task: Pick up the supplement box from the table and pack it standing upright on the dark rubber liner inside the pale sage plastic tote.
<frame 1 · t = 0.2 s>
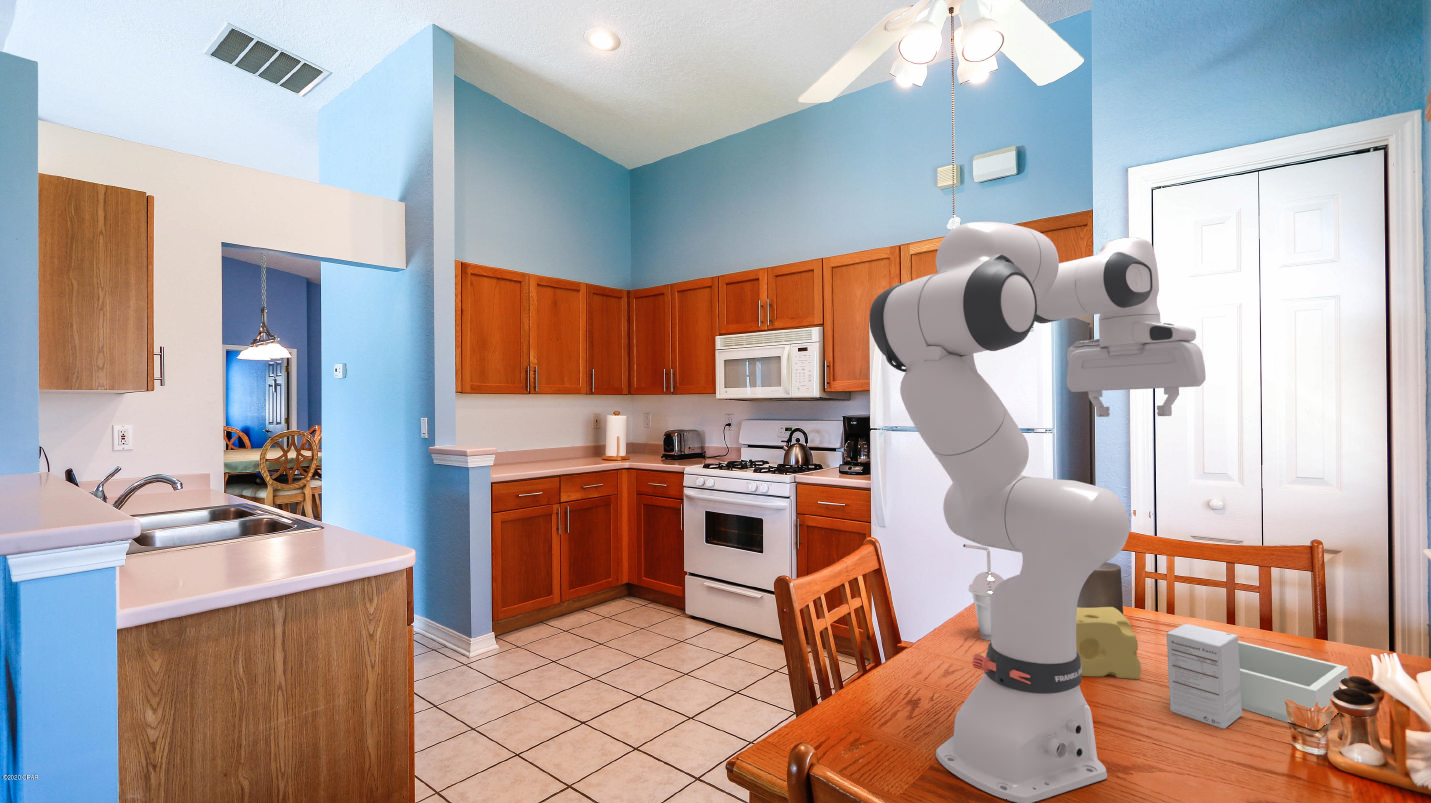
hand: (1132, 416, 107), 47 cm above the table, tool pointing down, fingers open, 8 cm apart
tote: (1272, 699, 103), on the table
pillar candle: (1097, 627, 139), on the table
supplement box: (1205, 714, 99), on the table
cup with straw: (990, 637, 135), on the table
cheese: (1097, 668, 118), on the table
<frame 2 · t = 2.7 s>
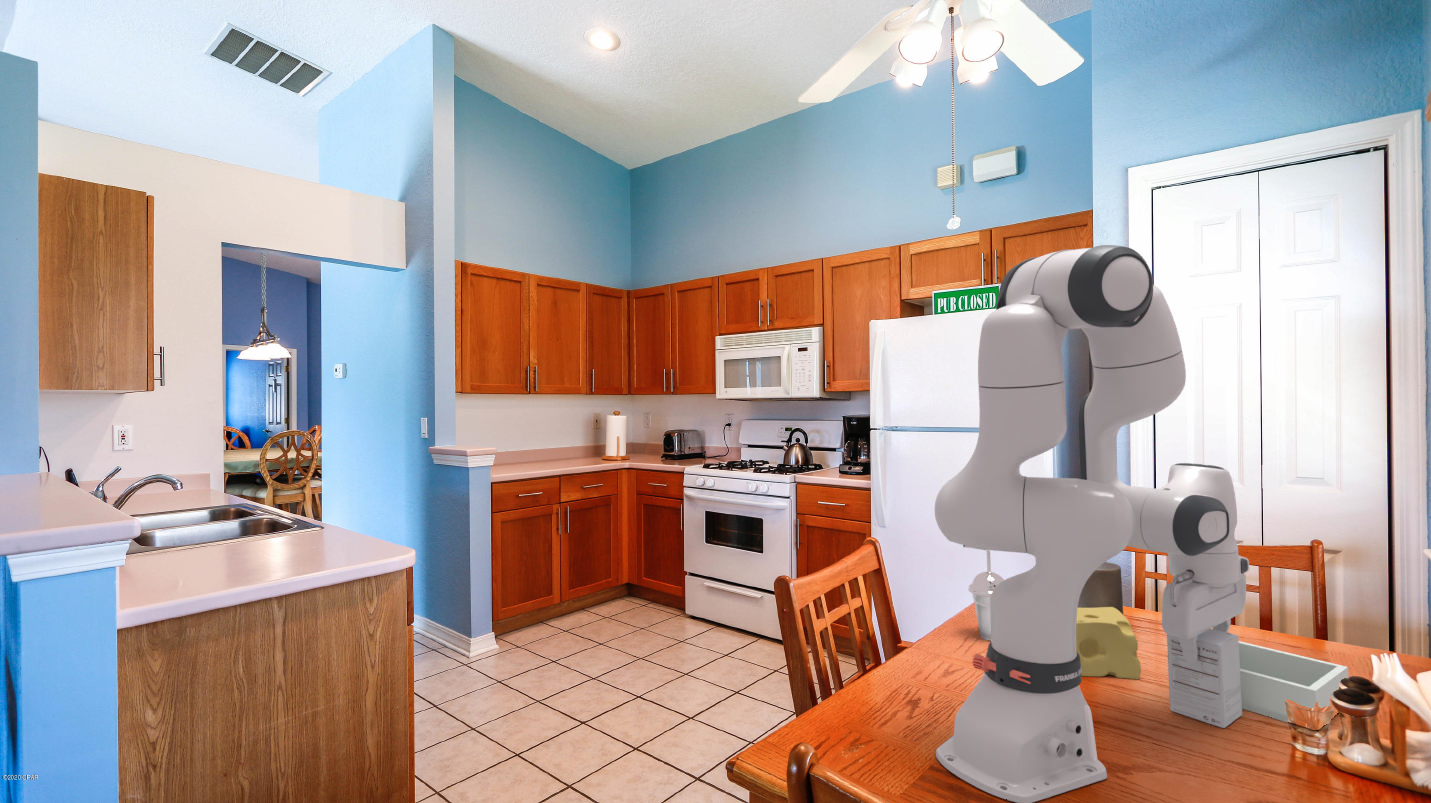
hand: (1205, 652, 99), 10 cm above the table, tool pointing down, fingers open, 8 cm apart
supplement box: (1205, 714, 99), on the table, touching gripper
everything else where it was.
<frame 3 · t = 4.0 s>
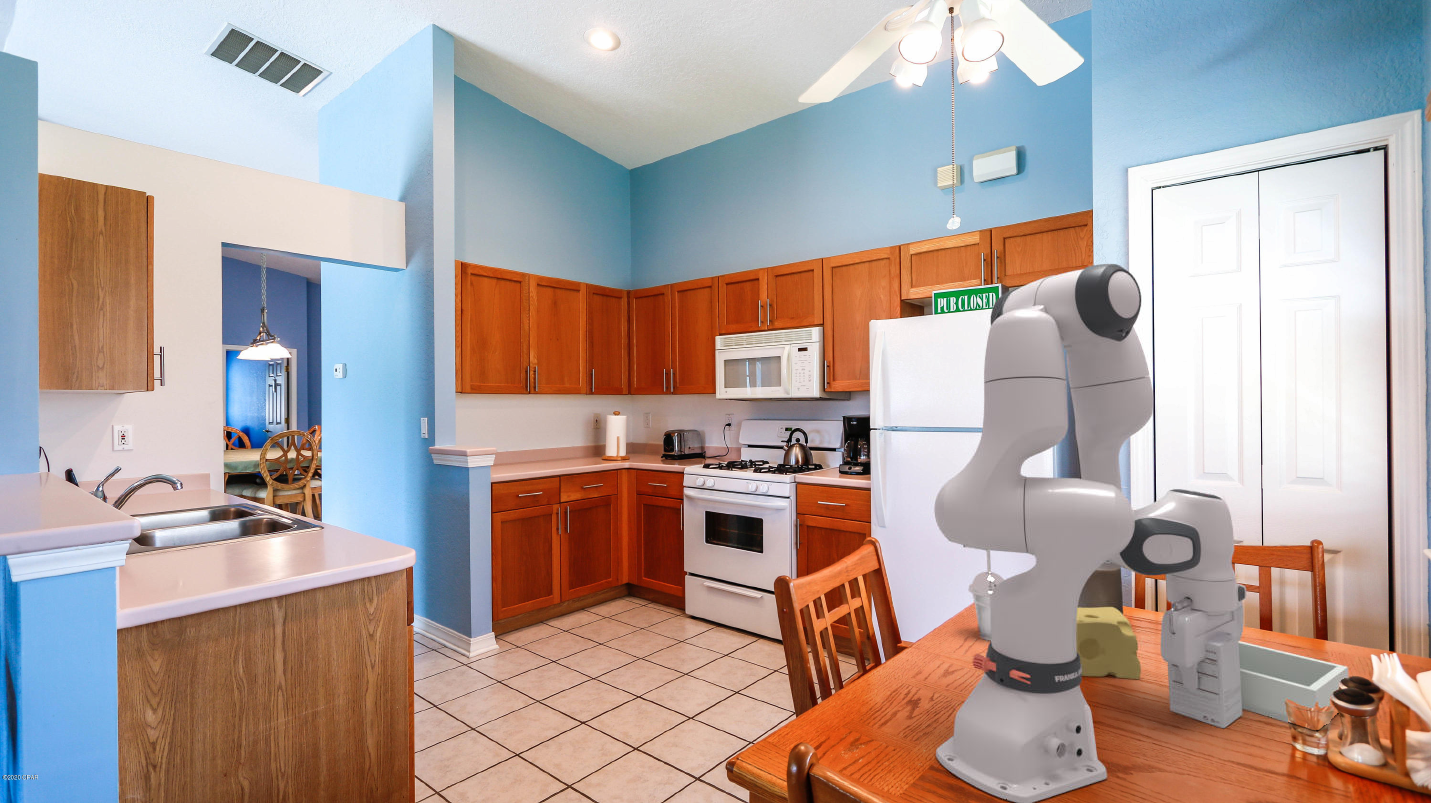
hand: (1204, 680, 99), 5 cm above the table, tool pointing down, fingers closed on supplement box, 7 cm apart
supplement box: (1205, 714, 99), on the table, touching gripper
everything else where it was.
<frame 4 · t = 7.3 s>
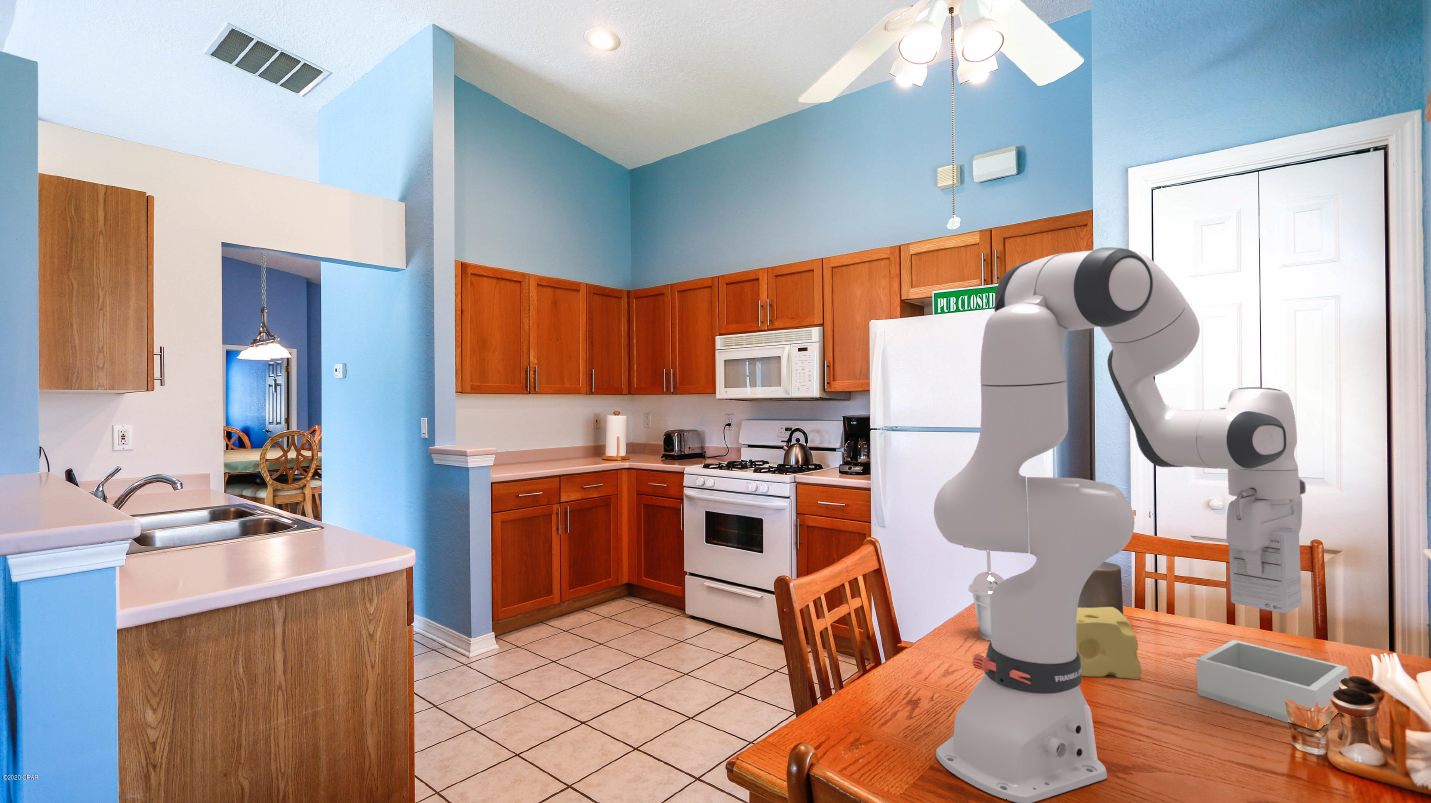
hand: (1266, 569, 104), 21 cm above the table, tool pointing down, fingers closed on supplement box, 7 cm apart
supplement box: (1265, 605, 104), point 15 cm above the table, touching gripper
everything else where it was.
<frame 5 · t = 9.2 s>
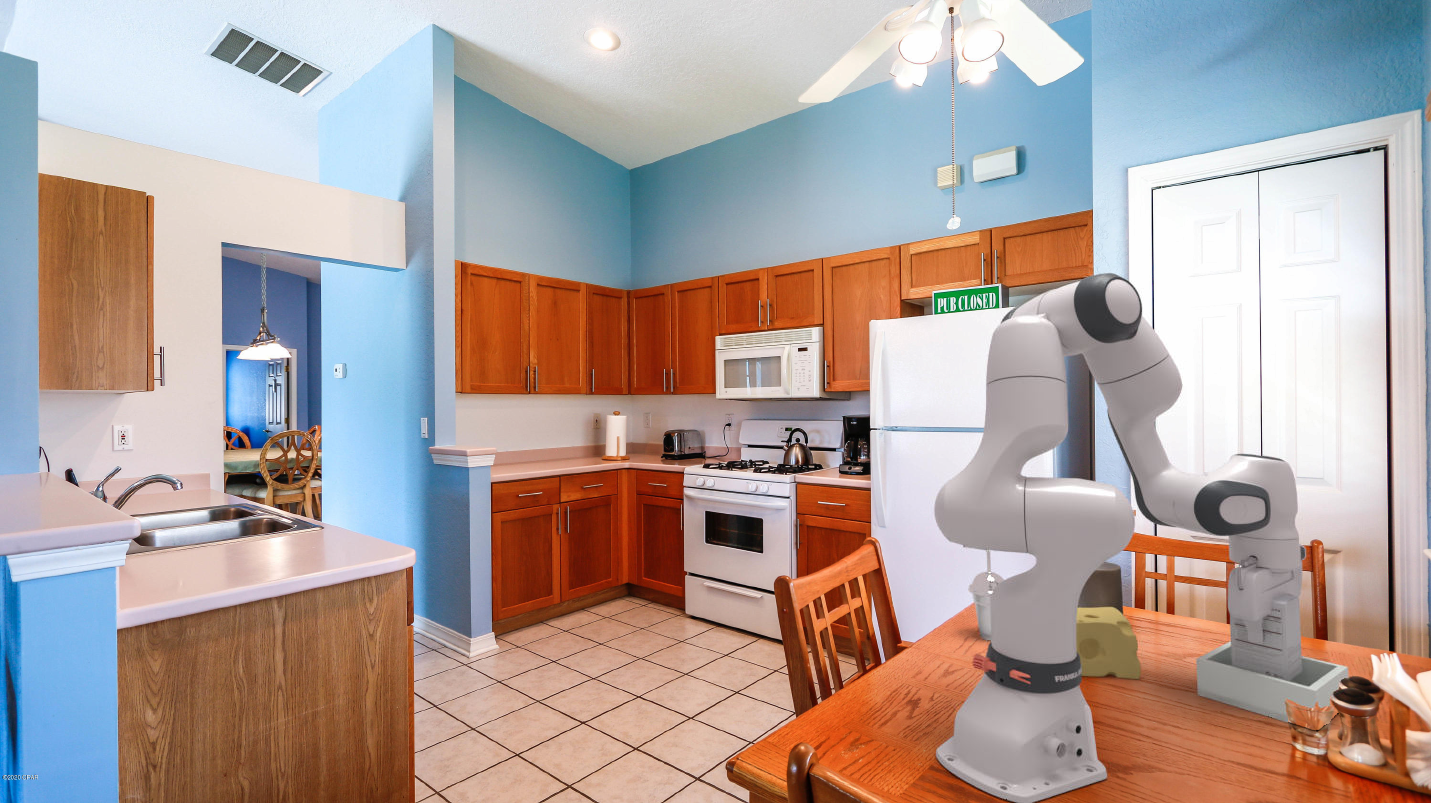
hand: (1266, 636, 104), 10 cm above the table, tool pointing down, fingers closed on supplement box, 7 cm apart
supplement box: (1266, 671, 104), point 4 cm above the table, touching gripper
everything else where it was.
when the fingers open (8 cm above the table, at t = 10.9 s): supplement box stays where it is, resting on tote.
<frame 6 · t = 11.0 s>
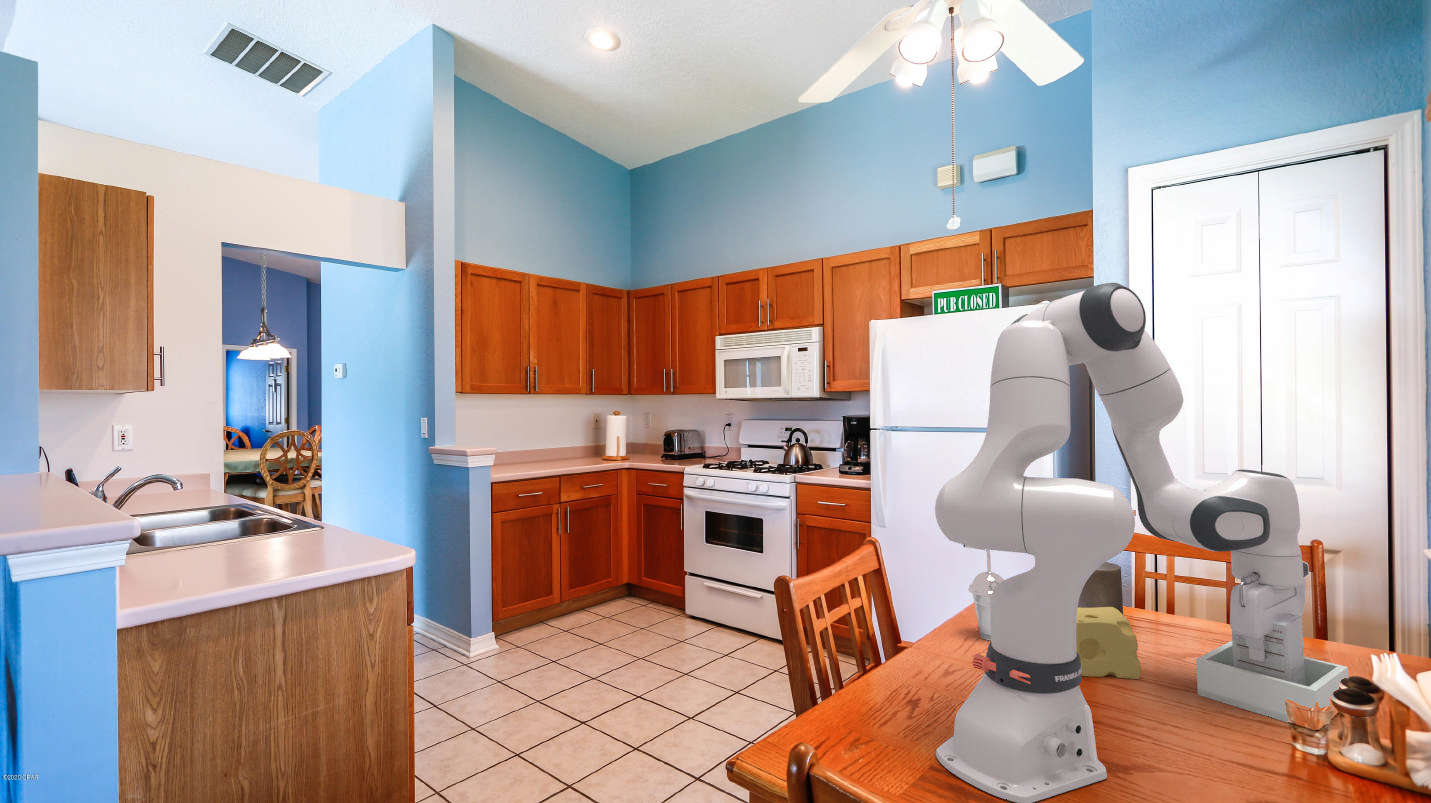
hand: (1269, 653, 103), 8 cm above the table, tool pointing down, fingers open, 8 cm apart
supplement box: (1269, 692, 103), point 1 cm above the table, touching tote
everything else where it was.
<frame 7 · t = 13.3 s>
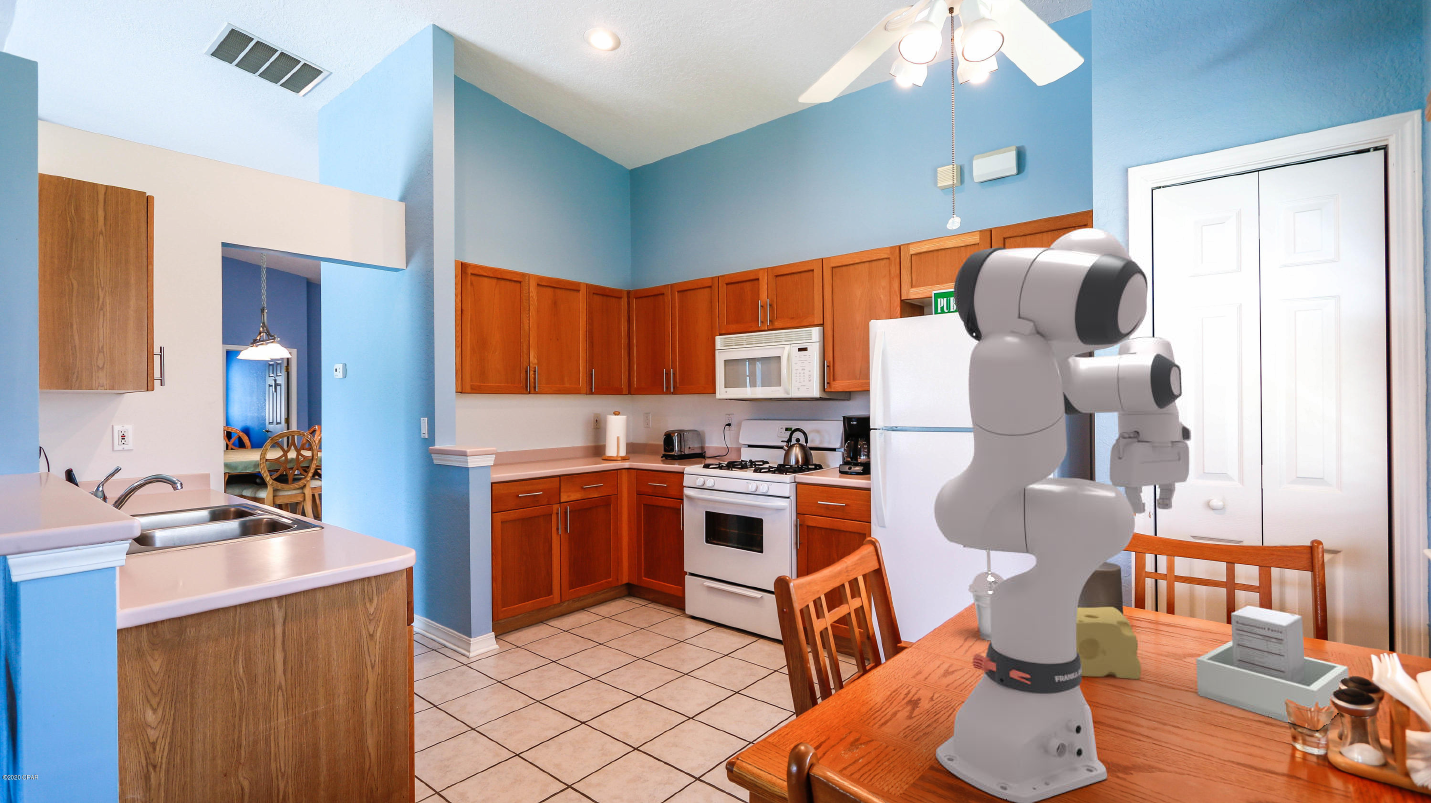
hand: (1151, 510, 109), 30 cm above the table, tool pointing down, fingers open, 8 cm apart
nothing on the table moved.
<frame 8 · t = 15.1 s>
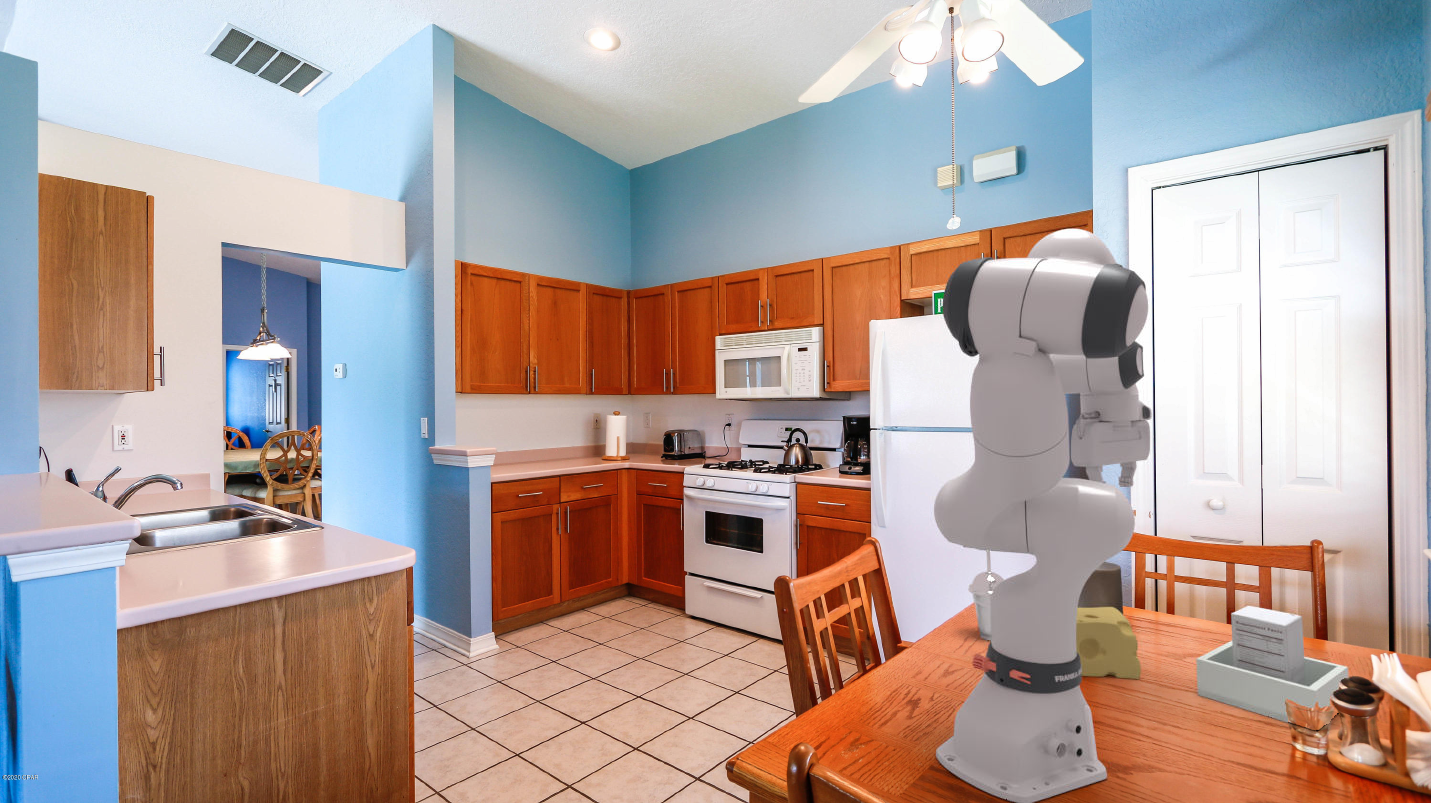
hand: (1112, 489, 111), 34 cm above the table, tool pointing down, fingers open, 8 cm apart
nothing on the table moved.
at the end: supplement box inside the target area on the tote (0.2 cm from its centre), point 1.1 cm above the tote's base; supplement box tilted 0°; the gripper is holding nothing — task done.
